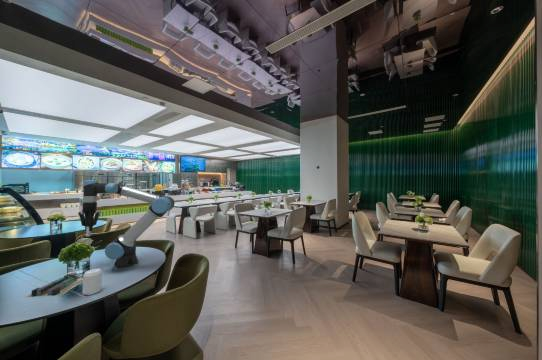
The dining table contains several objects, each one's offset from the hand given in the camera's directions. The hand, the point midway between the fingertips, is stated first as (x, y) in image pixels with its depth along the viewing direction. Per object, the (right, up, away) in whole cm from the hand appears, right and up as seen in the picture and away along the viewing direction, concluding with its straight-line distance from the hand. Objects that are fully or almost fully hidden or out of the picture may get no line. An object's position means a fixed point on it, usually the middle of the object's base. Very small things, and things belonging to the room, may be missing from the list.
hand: (88, 235), depth 141 cm
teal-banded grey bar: (+4, -24, -21) cm, 33 cm away
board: (+2, -26, -21) cm, 33 cm away
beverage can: (+25, -26, -25) cm, 43 cm away
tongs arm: (0, -24, -22) cm, 32 cm away
